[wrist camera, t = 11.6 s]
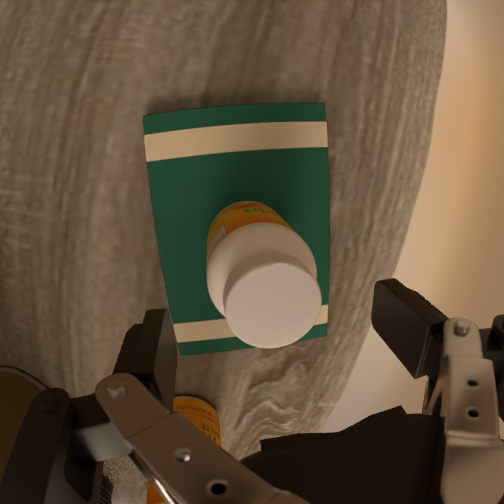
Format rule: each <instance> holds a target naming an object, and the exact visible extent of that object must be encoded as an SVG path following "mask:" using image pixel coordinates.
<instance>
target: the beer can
mask: <svg viewBox="0 0 504 504" xmlns="http://www.w3.org/2000/svg"><path fill="white" fill-rule="evenodd" d="M175 411H179V412H180V413H182V414H183V415H184V416H185V417H186V418H188V419H189V420H190V421H191V422H192V423H193V424H194V425H195V426H197V427H198V428H199V429H200V430H201V431H202V432H203V433H205V434H206V435H207V436H208V437H209V438H210V439H212V440H213V441H214V442H215V443H216V444H218V445H219V446H220V447H221V438H220V426H219V416H218V414H217V412H216V411H215V409H214V408H212V407H211V406H210V405H209V404H207V403H206V402H205V401H203V400H201V399H198V398H195V397H190V396H179V397H174V404H173V412H175ZM147 504H167V503H166V501H165V500H164V499H163V498H162V496H161V495H160V494H159V493H158V492H157V490H156V489H155V488H154V487H153V486H152V485H151V483H150V482H149V481H148V491H147Z"/></svg>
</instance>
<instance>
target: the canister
mask: <svg viewBox="0 0 504 504" xmlns="http://www.w3.org/2000/svg"><path fill="white" fill-rule="evenodd" d="M45 389H47V388H46V387H45V386H44V385H43V384H42V383H40V382H39V381H38V380H36V379H35V378H33V377H32V376H30V375H28V374H26V373H24V372H22V371H20V370H18V369H15V368H10V367H0V486H1V482H2V479H3V476H4V472H5V469H6V466H7V463H8V460H9V457H10V454H11V452H12V449H13V446H14V443H15V440H16V438H17V435H18V433H19V430H20V427H21V425H22V422H23V420H24V417H25V415H26V412H27V410H28V408H29V405H30V403H31V401H32V399H33V398H34V397H35V396H36V395H37V394H38V393H39V392H41V391H43V390H45Z"/></svg>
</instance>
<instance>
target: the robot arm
mask: <svg viewBox="0 0 504 504" xmlns="http://www.w3.org/2000/svg"><path fill="white" fill-rule="evenodd" d="M371 320H372V325H373V328H374V329H375V331H376V332H377V333H378V334H379V336H380V337H381V338H382V339H383V340H384V342H385V343H386V344H387V345H388V347H389V348H390V349H391V350H392V351H393V353H394V354H395V355H396V356H397V358H398V359H399V360H400V361H401V363H402V364H403V365H404V366H405V368H406V369H407V370H408V371H409V373H410V374H411V375H412V376H413V378H414V379H417V378H419V377H422V376H425V375H427V376H428V379H427V382H426V388H425V396H424V403H423V409H422V414H407V413H406V412H405V410H404V409H403V408H402V406H401V405H400V406H397V407H395V408H392V409H389V410H386V411H383V412H379V413H376V414H373V415H370V416H368V417H367V418H365V419H363V420H361V421H359V422H358V423H356V424H354V425H352V426H350V427H348V428H346V429H345V430H342V431H340V432H333V433H298V434H292V435H287V436H282V437H276V438H270V439H264V440H260V443H261V451H259V452H256V453H254V454H252V455H249V456H247V457H245V458H244V459H242V460H241V461H238V460H236V459H235V458H234V457H233V456H231V455H230V454H229V453H228V452H226V451H225V450H224V449H223V448H221V447H220V446H219V445H218V444H216V443H215V442H214V441H213V440H212V439H210V438H209V437H208V436H207V435H206V434H205V433H203V432H202V431H201V430H200V429H199V428H198V427H197V426H195V425H194V424H193V423H192V422H191V421H190V420H189V419H188V418H186V417H185V416H184V415H183V414H182V413H180V412H179V411H175V412H173V404H174V390H175V378H176V366H177V349H176V343H175V339H174V335H173V330H172V326H171V321H170V317H169V313H168V310H167V308H163V309H152V310H147V311H146V314H145V317H144V320H143V323H142V324H134V325H133V326H132V327H131V328H130V329H129V330H128V331H127V332H126V335H125V338H124V341H123V342H124V343H123V344H122V347H121V351H120V353H119V355H118V358H117V361H116V364H115V368H114V371H113V374H112V375H109V376H107V377H105V378H104V379H102V380H101V381H100V382H99V383H98V384H97V386H96V388H95V393H94V394H91V395H87V396H83V397H78V398H74V399H71V398H70V397H69V395H68V393H67V392H66V391H65V390H63V389H61V388H48V389H45V390H43V391H41V392H39V393H38V394H37V395H36V396H35V397H34V398H33V399H32V401H31V403H30V405H29V408H28V410H27V412H26V415H25V417H24V420H23V422H22V425H21V427H20V430H19V433H18V435H17V438H16V440H15V443H14V446H13V449H12V452H11V454H10V457H9V460H8V463H7V466H6V469H5V472H4V476H3V479H2V482H1V486H0V504H99V500H100V490H101V480H102V472H103V464H104V460H108V459H112V458H117V457H121V456H125V455H128V456H129V457H130V459H131V460H132V461H133V462H134V464H135V465H136V466H137V468H138V469H139V470H140V471H141V473H142V474H143V475H144V476H145V477H146V479H147V480H148V481H149V482H150V483H151V485H152V486H153V487H154V488H155V489H156V490H157V492H158V493H159V494H160V495H161V496H162V498H163V499H164V500H165V501H166V503H167V504H504V440H503V439H500V434H499V417H500V418H501V419H502V420H503V422H504V315H498V316H496V317H495V318H494V321H493V324H492V327H491V328H486V329H478V327H477V325H476V324H474V323H473V322H472V321H470V320H467V319H464V318H450V319H449V318H448V317H447V316H446V315H444V314H443V313H442V312H441V311H440V310H438V309H437V308H436V307H435V306H434V305H431V303H430V302H429V301H428V300H425V298H424V297H423V296H421V295H420V294H419V293H418V292H416V291H413V290H411V289H409V288H407V287H405V286H404V285H403V284H402V283H400V282H399V281H398V280H397V279H395V278H391V279H386V280H380V281H377V282H376V284H375V288H374V297H373V306H372V314H371Z"/></svg>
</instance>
